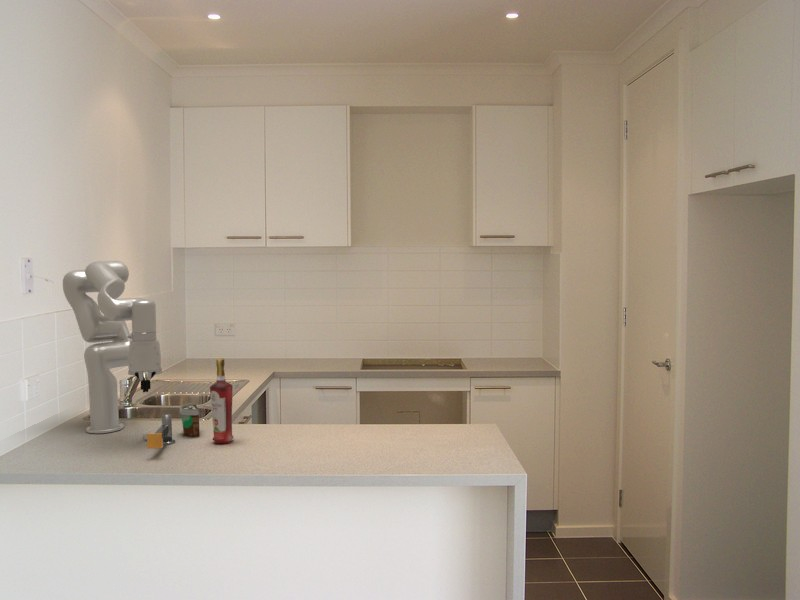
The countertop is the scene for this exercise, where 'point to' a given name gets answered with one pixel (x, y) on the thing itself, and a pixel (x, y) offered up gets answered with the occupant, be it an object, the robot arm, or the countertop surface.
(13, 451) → the countertop surface
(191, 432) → the food container
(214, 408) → the liquor
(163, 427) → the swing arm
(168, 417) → the pivot post
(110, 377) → the robot arm
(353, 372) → the countertop surface
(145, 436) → the label tile
